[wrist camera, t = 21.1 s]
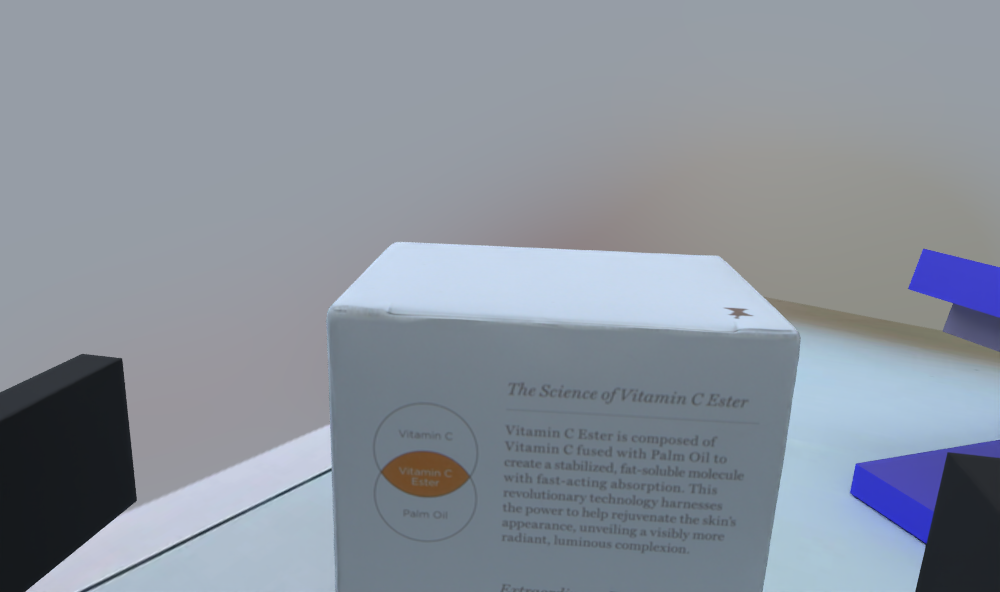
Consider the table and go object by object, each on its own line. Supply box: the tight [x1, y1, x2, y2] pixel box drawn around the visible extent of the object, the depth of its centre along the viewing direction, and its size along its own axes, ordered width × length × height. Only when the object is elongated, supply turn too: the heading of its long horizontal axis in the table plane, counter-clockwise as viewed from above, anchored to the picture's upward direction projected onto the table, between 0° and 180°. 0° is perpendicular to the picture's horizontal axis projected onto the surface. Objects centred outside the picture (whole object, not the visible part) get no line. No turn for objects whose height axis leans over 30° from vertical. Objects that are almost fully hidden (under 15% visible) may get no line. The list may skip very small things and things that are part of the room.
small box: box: [326, 242, 801, 592], centre depth 16 cm, size 8×6×10 cm
